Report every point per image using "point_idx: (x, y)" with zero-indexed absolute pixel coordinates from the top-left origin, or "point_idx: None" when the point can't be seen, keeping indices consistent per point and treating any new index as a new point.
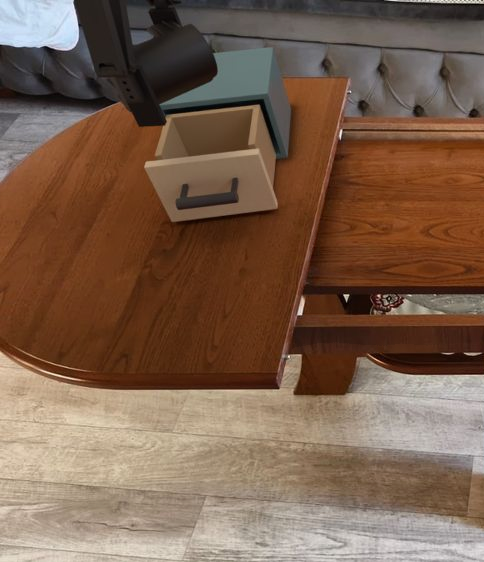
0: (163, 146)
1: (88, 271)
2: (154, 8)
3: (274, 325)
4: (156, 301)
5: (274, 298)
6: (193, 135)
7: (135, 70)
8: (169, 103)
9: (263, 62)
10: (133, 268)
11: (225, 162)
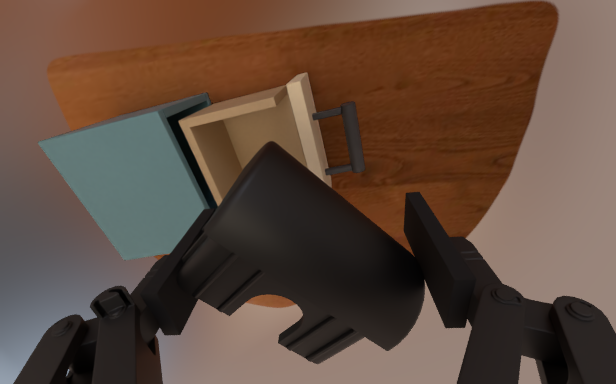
0: None
1: (385, 225)
2: (161, 328)
3: (494, 17)
4: (431, 158)
5: (449, 32)
6: None
7: (493, 284)
8: None
9: (82, 143)
10: (385, 192)
11: (312, 128)
